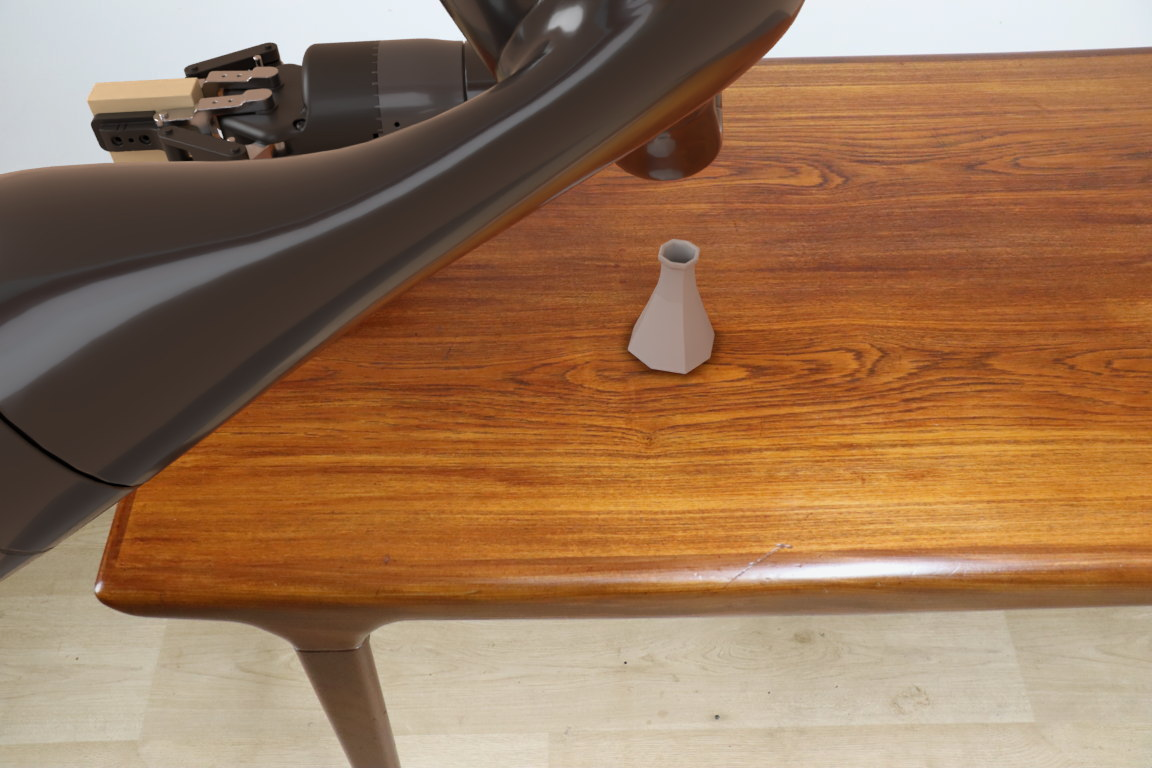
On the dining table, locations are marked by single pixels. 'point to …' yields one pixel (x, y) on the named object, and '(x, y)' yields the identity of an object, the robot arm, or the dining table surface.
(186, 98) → the tall tan wooden block
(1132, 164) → the dining table surface
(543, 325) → the dining table surface
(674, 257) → the flask
